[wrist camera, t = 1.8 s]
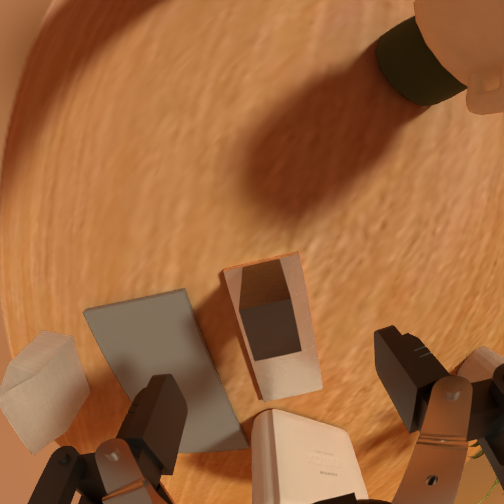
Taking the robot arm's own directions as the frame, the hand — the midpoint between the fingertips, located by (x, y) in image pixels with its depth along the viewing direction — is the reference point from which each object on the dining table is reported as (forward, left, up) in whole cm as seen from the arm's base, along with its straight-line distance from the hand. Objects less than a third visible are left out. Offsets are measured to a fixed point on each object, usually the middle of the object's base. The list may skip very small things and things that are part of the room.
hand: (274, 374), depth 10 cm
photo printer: (+16, 0, -10) cm, 19 cm away
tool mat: (+8, -10, -10) cm, 16 cm away
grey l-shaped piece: (+4, 0, -10) cm, 11 cm away
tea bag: (+4, -20, -10) cm, 23 cm away
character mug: (-13, +14, -10) cm, 21 cm away
